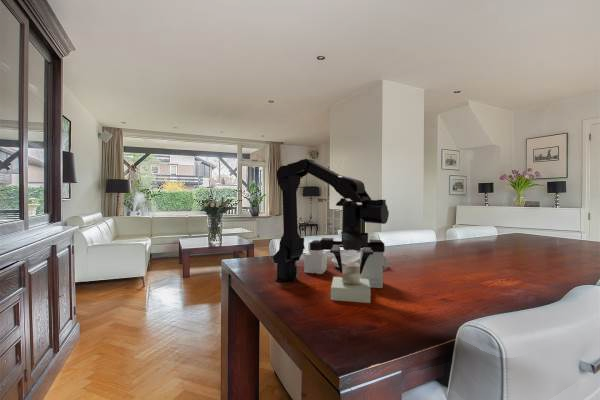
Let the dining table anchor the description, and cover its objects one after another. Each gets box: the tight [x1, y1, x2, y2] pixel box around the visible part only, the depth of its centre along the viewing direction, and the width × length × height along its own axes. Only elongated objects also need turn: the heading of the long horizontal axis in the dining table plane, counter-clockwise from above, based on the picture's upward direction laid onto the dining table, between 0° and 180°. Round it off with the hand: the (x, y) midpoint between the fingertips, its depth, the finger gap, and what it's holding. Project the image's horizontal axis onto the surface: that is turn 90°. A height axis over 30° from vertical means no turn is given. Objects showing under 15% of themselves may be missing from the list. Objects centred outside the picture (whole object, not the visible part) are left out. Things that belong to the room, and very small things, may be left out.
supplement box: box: [359, 248, 384, 289], centre depth 100 cm, size 7×7×13 cm
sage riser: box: [330, 276, 372, 304], centre depth 89 cm, size 11×11×4 cm
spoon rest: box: [331, 251, 389, 269], centre depth 123 cm, size 24×12×7 cm, turn 99°
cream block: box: [341, 262, 360, 284], centre depth 89 cm, size 5×5×5 cm
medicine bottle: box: [303, 239, 328, 275], centre depth 115 cm, size 7×7×12 cm
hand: (350, 273), depth 89 cm, fingers open, 5 cm apart
